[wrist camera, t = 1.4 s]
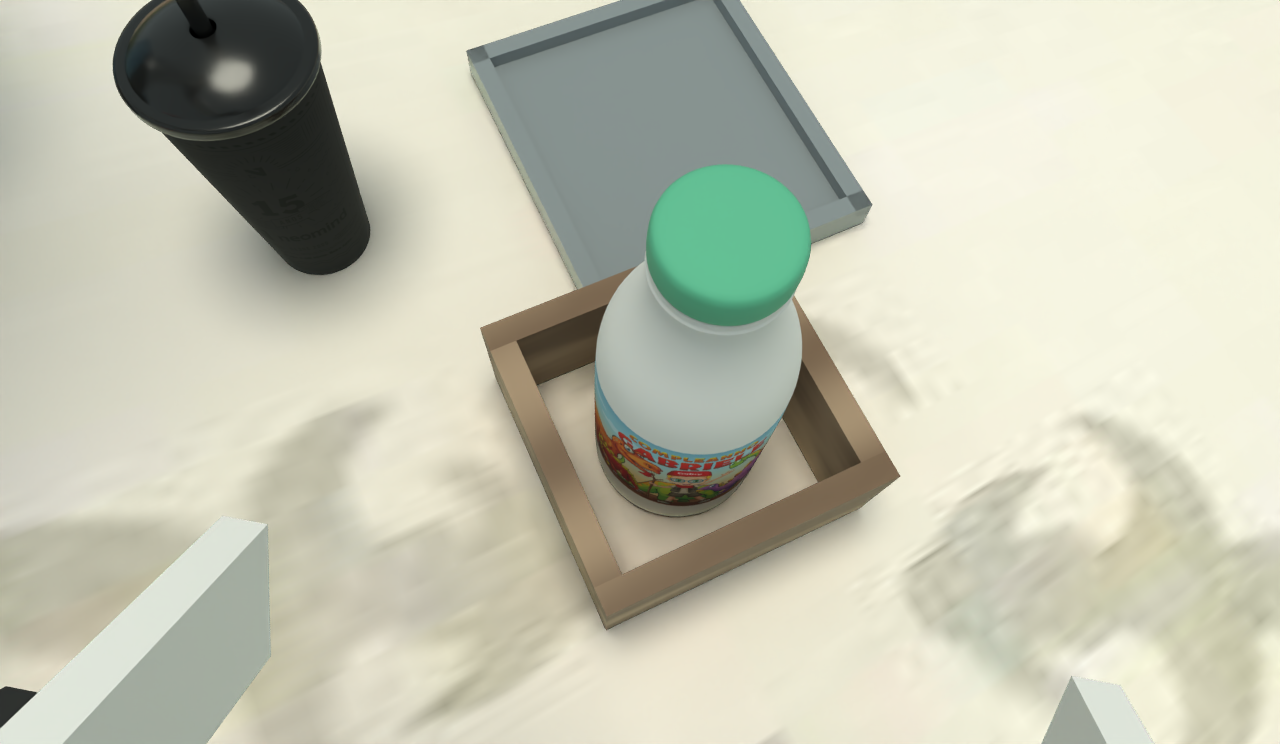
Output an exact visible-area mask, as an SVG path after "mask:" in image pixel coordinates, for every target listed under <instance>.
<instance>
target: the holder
mask: <svg viewBox="0 0 1280 744" xmlns="http://www.w3.org/2000/svg"><path fill="white" fill-rule="evenodd" d="M638 266H639V265H638ZM636 267H637V266H636ZM636 267H633V268H631V269H628V270H626V271H623V272H621V273H618V274H616V275H613V276H611V277H608V278H606V279H603V280H600V281H598V282H595V283H593V284H590V285H588V286H585V287H583V288H580V289H578V290H575V291H573V292H570V293H567V294H565V295H562V296H560V297H557V298H555V299H552V300H550V301H547V302H545V303H542V304H540V305H537V306H534V307H532V308H529V309H527V310H524V311H522V312H519V313H517V314H514V315H512V316H509V317H507V318H504V319H502V320H499V321H496V322H494V323H491V324H489V325H486V326H484V327H481V328H480V329H481V332H482V336H483V339H484V342H485V345H486V348H487V351H488V355H489V358H490V361H491V364H492V367H493V370H494V374H495V377H496V379H497V382H498V384H499V386H500V388H501V391H502V393H503V395H504V398H505V400H506V402H507V405H508V407H509V409H510V411H511V414H512V416H513V418H514V421H515V423H516V425H517V427H518V430H519V432H520V434H521V437H522V439H523V441H524V443H525V446H526V448H527V450H528V453H529V455H530V457H531V460H532V462H533V464H534V466H535V469H536V471H537V473H538V476H539V478H540V480H541V482H542V485H543V487H544V489H545V492H546V494H547V496H548V499H549V501H550V503H551V505H552V508H553V510H554V512H555V515H556V517H557V519H558V521H559V524H560V526H561V528H562V531H563V533H564V535H565V537H566V540H567V542H568V544H569V547H570V549H571V551H572V554H573V556H574V558H575V560H576V563H577V565H578V567H579V570H580V572H581V574H582V576H583V579H584V581H585V583H586V586H587V588H588V590H589V592H590V595H591V597H592V599H593V602H594V604H595V606H596V609H597V611H598V613H599V615H600V618H601V620H602V622H603V625H604V627H605V629H606V630H607V629H610V628H612V627H614V626H616V625H618V624H620V623H622V622H624V621H626V620H628V619H630V618H632V617H634V616H637V615H639V614H641V613H643V612H645V611H647V610H649V609H651V608H653V607H655V606H657V605H659V604H661V603H664V602H666V601H668V600H670V599H672V598H674V597H676V596H678V595H680V594H682V593H684V592H686V591H689V590H691V589H693V588H695V587H697V586H699V585H701V584H703V583H705V582H707V581H709V580H711V579H713V578H716V577H718V576H720V575H722V574H724V573H726V572H728V571H730V570H732V569H734V568H736V567H738V566H740V565H743V564H745V563H747V562H749V561H751V560H753V559H755V558H757V557H759V556H761V555H763V554H765V553H767V552H770V551H772V550H774V549H776V548H778V547H780V546H782V545H784V544H786V543H788V542H790V541H792V540H795V539H797V538H799V537H801V536H803V535H805V534H807V533H809V532H811V531H813V530H815V529H817V528H819V527H822V526H824V525H826V524H828V523H830V522H832V521H834V520H836V519H838V518H840V517H842V516H844V515H846V514H849V513H851V512H853V511H855V510H857V509H859V508H861V507H862V506H863V505H864V504H866V503H867V502H868V501H869V500H871V499H872V498H873V497H875V496H876V495H877V494H878V493H880V492H881V491H882V490H884V489H885V488H886V487H887V486H889V485H890V484H891V483H892V482H894V481H895V480H896V479H898V478H899V477H900V475H899V473H898V471H897V470H896V468H895V466H894V465H893V463H892V461H891V460H890V458H889V456H888V454H887V453H886V451H885V449H884V448H883V446H882V444H881V443H880V441H879V439H878V437H877V436H876V434H875V432H874V431H873V429H872V427H871V426H870V424H869V422H868V420H867V419H866V417H865V415H864V414H863V412H862V410H861V409H860V407H859V405H858V403H857V402H856V400H855V398H854V397H853V395H852V393H851V391H850V390H849V388H848V386H847V385H846V383H845V381H844V380H843V378H842V376H841V374H840V373H839V371H838V369H837V368H836V366H835V364H834V363H833V361H832V359H831V357H830V356H829V354H828V352H827V351H826V349H825V347H824V346H823V344H822V342H821V340H820V339H819V337H818V335H817V334H816V332H815V330H814V329H813V327H812V325H811V323H810V322H809V320H808V318H807V317H806V315H805V313H804V311H803V310H802V308H801V306H800V305H799V303H798V301H797V300H796V298H795V296H793V298H792V301H793V303H794V306H795V308H796V311H797V315H798V318H799V323H800V328H801V334H802V360H801V367H800V371H799V376H798V380H797V384H796V387H795V390H794V392H793V395H792V397H791V399H790V401H789V403H788V405H787V407H786V410H785V412H784V414H783V416H782V417H783V419H784V421H785V423H786V424H787V426H788V428H789V430H790V432H791V434H792V435H793V437H794V439H795V441H796V443H797V444H798V446H799V448H800V450H801V452H802V453H803V455H804V457H805V459H806V461H807V463H808V464H809V466H810V468H811V470H812V472H813V473H814V475H815V477H816V479H817V481H818V483H816V484H814V485H812V486H810V487H808V488H806V489H804V490H801V491H799V492H797V493H795V494H793V495H791V496H789V497H786V498H784V499H782V500H780V501H778V502H776V503H774V504H772V505H769V506H767V507H765V508H763V509H761V510H759V511H757V512H755V513H752V514H750V515H748V516H746V517H744V518H742V519H740V520H737V521H735V522H733V523H731V524H729V525H727V526H725V527H723V528H720V529H718V530H716V531H714V532H712V533H710V534H708V535H706V536H703V537H701V538H699V539H697V540H695V541H693V542H691V543H688V544H686V545H684V546H682V547H680V548H678V549H676V550H674V551H671V552H669V553H667V554H665V555H663V556H661V557H659V558H656V559H654V560H652V561H650V562H648V563H646V564H644V565H642V566H639V567H637V568H635V569H633V570H631V571H629V572H627V573H625V574H622V573H621V571H620V569H619V567H618V565H617V562H616V560H615V558H614V556H613V554H612V551H611V549H610V547H609V545H608V542H607V540H606V538H605V536H604V534H603V531H602V529H601V527H600V525H599V523H598V520H597V518H596V516H595V514H594V512H593V509H592V507H591V505H590V503H589V500H588V498H587V496H586V494H585V492H584V489H583V487H582V485H581V483H580V481H579V478H578V476H577V474H576V472H575V470H574V467H573V465H572V463H571V461H570V458H569V456H568V454H567V452H566V450H565V447H564V445H563V443H562V441H561V439H560V436H559V434H558V432H557V430H556V428H555V425H554V423H553V421H552V419H551V416H550V414H549V412H548V410H547V408H546V405H545V403H544V401H543V399H542V397H541V394H540V392H539V390H538V388H537V386H536V385H538V384H541V383H543V382H545V381H548V380H550V379H553V378H555V377H558V376H560V375H562V374H565V373H567V372H570V371H572V370H575V369H577V368H579V367H582V366H584V365H587V364H589V363H591V362H594V361H595V357H596V346H597V338H598V333H599V329H600V325H601V322H602V319H603V316H604V313H605V310H606V308H607V306H608V304H609V302H610V300H611V298H612V297H613V295H614V293H615V292H616V290H617V288H618V287H619V286H620V284H621V283H622V282H623V281H624V279H625V278H626V277H627V276H628V275H629V274H630V273H631V272H632V271H633V270H634V269H635V268H636Z"/></svg>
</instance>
